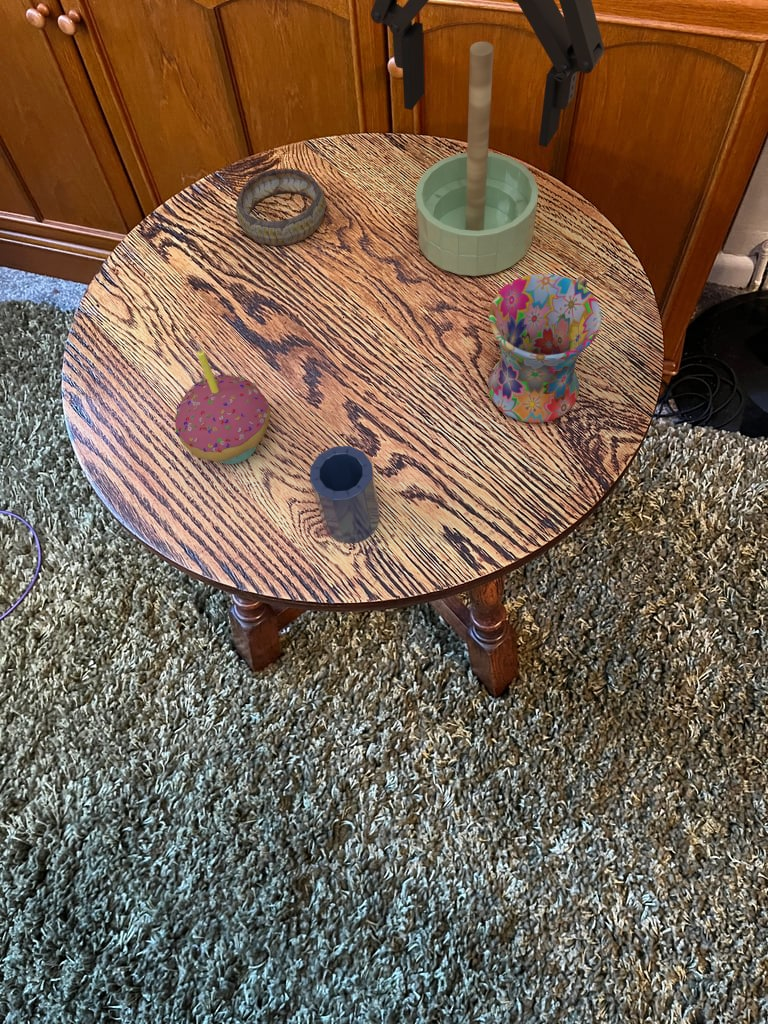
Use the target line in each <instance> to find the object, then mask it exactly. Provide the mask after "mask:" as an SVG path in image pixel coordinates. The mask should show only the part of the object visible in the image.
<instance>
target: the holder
mask: <svg viewBox="0 0 768 1024" xmlns="http://www.w3.org/2000/svg"><path fill="white" fill-rule="evenodd" d="M374 474H375V473H374V469H373V464H372V461H371V460H370V458H369V457H368V456H367V455H366V453H365V452H364V451H363V450H361V449H358V448H356V447H353V446H351V445H341V446H339V445H338V446H333V447H330V448H328V449H326V450H325V451H323V452H321V453H319V454H318V455H317V457H316V458H315V459H314V461H313V462H312V464H311V465H310V468H309V483H310V486H311V489H312V492H313V497H314V498H315V499H314V500H315V501H316V502H315V503H316V505H317V509H318V511H319V515H320V518H321V521H322V524H323V526H324V528H325V531H326V532H327V533H328V535H329V536H330V537H331V538H332V539H334V540H335V541H338V542H339V543H344V544H357V543H361V542H364V541H365V540H367V539H369V538H371V536H372V535H373V534H374V533H375V532H376V530H377V529H378V527H379V524H380V520H381V516H380V504H379V499H378V492H377V486H376V485H377V484H376V479H375V475H374Z"/></svg>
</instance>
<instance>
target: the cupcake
mask: <svg viewBox="0 0 768 1024" xmlns="http://www.w3.org/2000/svg"><path fill="white" fill-rule="evenodd" d="M196 347H197V350H198V351H197V352H196V356H197V358H198V361H199V364H200V366H201V368H202V371H203V374H204V376H205V379H204V378H201V379H200V381H197V382H196V383H194V384H193V385H191V386H190V388H189V389H188V391H186V393H185V395H184V396H181V400H180V402H179V404H177V405H176V411H175V412H176V415H175V416H174V421H175V424H174V426H175V430H176V433H177V434H176V435H177V437H179V440H180V442H181V443H182V445H183V446H184V447H185V448H186V449H187V450H188V451H189V452H190V454H192V455H193V456H194V457H196V458H198V459H201V460H207V461H211V462H215V463H216V462H218V463H221V464H225V465H236V464H240V463H242V462H244V461H246V460H248V459H249V458H250V457H251V456H252V455H254V453H255V451H256V450H257V447H258V445H259V444H260V443H261V442H262V440H263V439H264V436H265V435H266V433H267V429H268V426H269V423H270V417H271V411H272V410H271V407H270V405H269V402H268V400H267V398H266V397H265V395H264V394H263V393H262V392H261V390H260V389H259V387H258V385H257V384H256V383H255V382H252V381H251V380H248V379H246V378H245V377H243V376H242V377H241V376H235V375H234V374H230V373H227V374H218V373H215V374H213V371H212V368H211V365H210V362H209V360H208V357H207V355H206V352H205V350H203V349H201V346H200V344H199V342H198V343H196Z"/></svg>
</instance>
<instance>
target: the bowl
mask: <svg viewBox="0 0 768 1024" xmlns="http://www.w3.org/2000/svg"><path fill="white" fill-rule="evenodd" d="M466 182H467V152H462V153H455V154H453V155H450V156H448V157H445V158H442V159H440V160H439V161H437V162H436V163H434V164H433V165H431V166H430V167H428V168H427V169H426V170H425V172H424V173H423V174H422V176H421V177H420V178H419V179H418V181H417V185H416V189H415V193H414V199H415V201H414V202H415V218H416V219H415V222H416V223H415V225H416V237H417V242H418V243H417V244H418V246H419V249H420V251H421V253H422V254H424V257H425V258H426V259H427V260H428V261H429V262H430V263H432V264H434V266H437V267H438V268H439V269H441V270H444V271H447V272H450V273H453V274H455V275H460V276H471V277H480V276H487V275H491V274H497V273H499V272H502V271H505V270H507V269H509V268H511V267H513V266H514V265H515V264H517V263H518V262H519V261H520V260H522V259H523V258H524V257H525V256H526V255H527V252H528V251H529V249H530V248H531V246H532V244H533V238H534V230H535V225H536V224H535V222H536V215H537V207H538V200H539V191H540V190H539V187H538V183H537V180H536V178H535V175H534V174H533V173H532V172H531V171H530V170H529V169H528V167H527V165H525V164H523V163H521V162H519V161H518V160H516V159H514V158H513V157H511V156H508V155H504V154H500V153H497V152H493V151H488V162H487V181H486V200H485V219H484V230H481V231H473V230H465V220H466Z"/></svg>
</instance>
